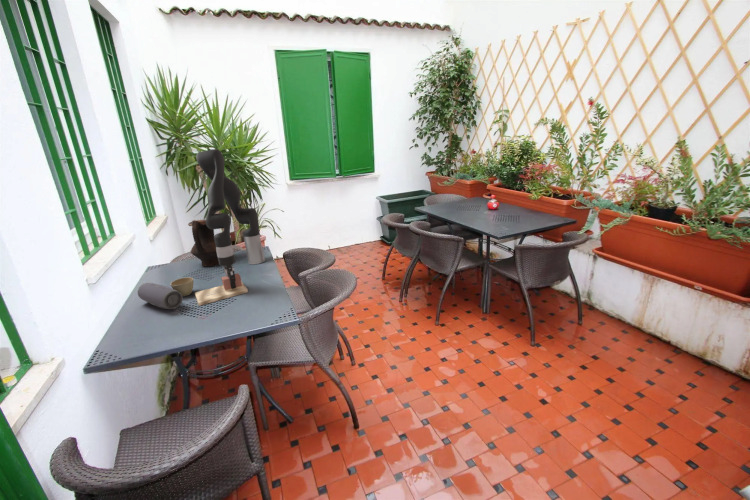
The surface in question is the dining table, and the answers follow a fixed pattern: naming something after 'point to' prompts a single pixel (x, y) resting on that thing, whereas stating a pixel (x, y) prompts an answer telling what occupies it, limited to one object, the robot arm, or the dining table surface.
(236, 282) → the block
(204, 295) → the board
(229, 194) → the robot arm
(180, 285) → the flower pot
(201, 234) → the jug
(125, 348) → the dining table surface
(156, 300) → the bluetooth speaker
